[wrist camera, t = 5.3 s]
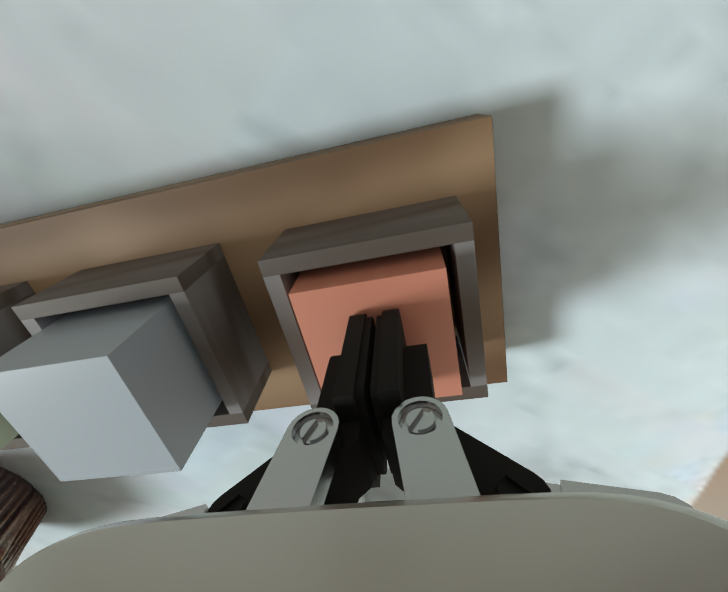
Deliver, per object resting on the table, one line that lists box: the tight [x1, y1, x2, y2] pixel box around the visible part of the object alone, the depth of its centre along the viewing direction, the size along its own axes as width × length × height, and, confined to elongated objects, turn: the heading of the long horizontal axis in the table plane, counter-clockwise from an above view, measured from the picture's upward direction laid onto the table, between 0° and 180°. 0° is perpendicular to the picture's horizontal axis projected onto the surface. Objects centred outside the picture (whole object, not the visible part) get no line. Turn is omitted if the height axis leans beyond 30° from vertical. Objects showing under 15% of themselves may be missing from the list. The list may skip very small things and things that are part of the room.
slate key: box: [0, 295, 222, 482], centre depth 14 cm, size 5×5×4 cm
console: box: [0, 114, 507, 450], centre depth 18 cm, size 12×30×6 cm, turn 102°
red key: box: [288, 246, 462, 398], centre depth 14 cm, size 5×5×4 cm
